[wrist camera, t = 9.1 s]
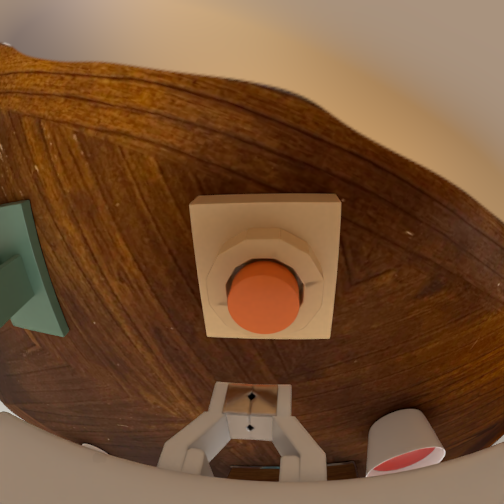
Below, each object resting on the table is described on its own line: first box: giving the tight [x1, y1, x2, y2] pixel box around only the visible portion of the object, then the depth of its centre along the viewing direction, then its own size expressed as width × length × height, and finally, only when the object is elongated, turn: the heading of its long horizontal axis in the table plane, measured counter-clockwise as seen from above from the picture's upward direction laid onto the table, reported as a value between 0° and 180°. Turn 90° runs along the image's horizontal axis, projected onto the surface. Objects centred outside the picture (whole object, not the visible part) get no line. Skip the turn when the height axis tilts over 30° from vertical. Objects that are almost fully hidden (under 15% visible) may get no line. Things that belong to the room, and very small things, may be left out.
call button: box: [189, 193, 341, 339], centre depth 20 cm, size 10×9×4 cm
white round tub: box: [366, 409, 445, 477], centre depth 26 cm, size 9×9×6 cm
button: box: [227, 261, 300, 334], centre depth 18 cm, size 4×4×2 cm
